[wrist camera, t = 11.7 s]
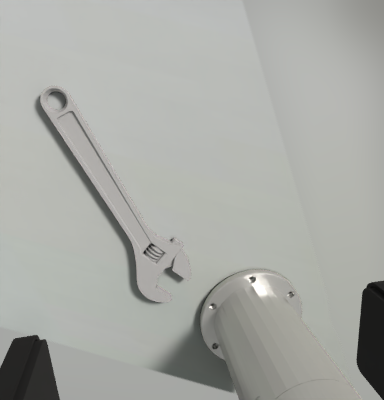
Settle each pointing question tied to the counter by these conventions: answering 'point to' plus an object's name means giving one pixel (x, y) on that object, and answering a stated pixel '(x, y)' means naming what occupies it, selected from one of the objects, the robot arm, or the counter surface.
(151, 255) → the adjustable wrench
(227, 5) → the counter surface
